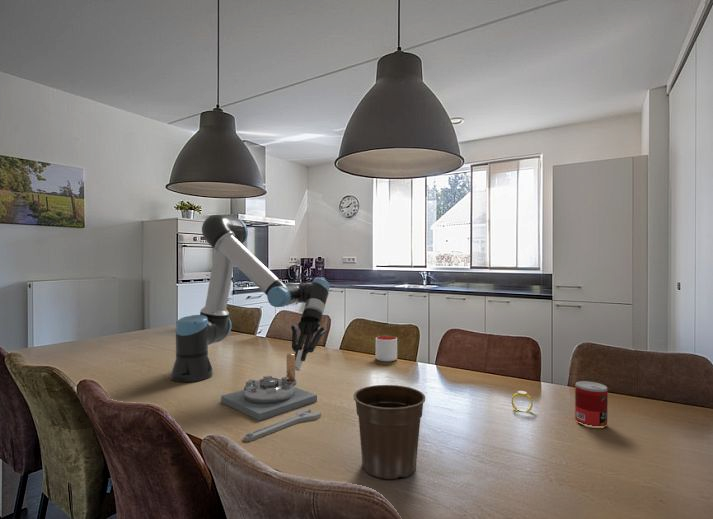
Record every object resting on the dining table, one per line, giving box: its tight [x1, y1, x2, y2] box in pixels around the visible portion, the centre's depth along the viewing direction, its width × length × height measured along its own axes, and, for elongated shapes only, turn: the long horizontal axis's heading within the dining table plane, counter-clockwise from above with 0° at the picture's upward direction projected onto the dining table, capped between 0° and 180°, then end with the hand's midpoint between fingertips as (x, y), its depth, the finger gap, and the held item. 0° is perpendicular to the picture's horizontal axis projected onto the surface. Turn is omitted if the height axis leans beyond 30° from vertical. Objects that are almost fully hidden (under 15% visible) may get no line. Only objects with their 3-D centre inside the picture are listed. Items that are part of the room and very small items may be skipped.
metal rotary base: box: [243, 352, 297, 404], centre depth 133 cm, size 17×16×13 cm
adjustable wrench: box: [243, 408, 322, 442], centre depth 115 cm, size 25×6×2 cm, turn 133°
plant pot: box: [353, 384, 426, 480], centre depth 93 cm, size 16×16×16 cm
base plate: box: [220, 386, 318, 422], centre depth 133 cm, size 22×22×2 cm
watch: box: [511, 390, 534, 412], centre depth 126 cm, size 6×3×6 cm, turn 67°
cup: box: [375, 335, 398, 363], centre depth 188 cm, size 10×10×10 cm
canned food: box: [574, 380, 609, 426], centre depth 116 cm, size 8×8×11 cm
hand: (296, 368), depth 140 cm, fingers closed
